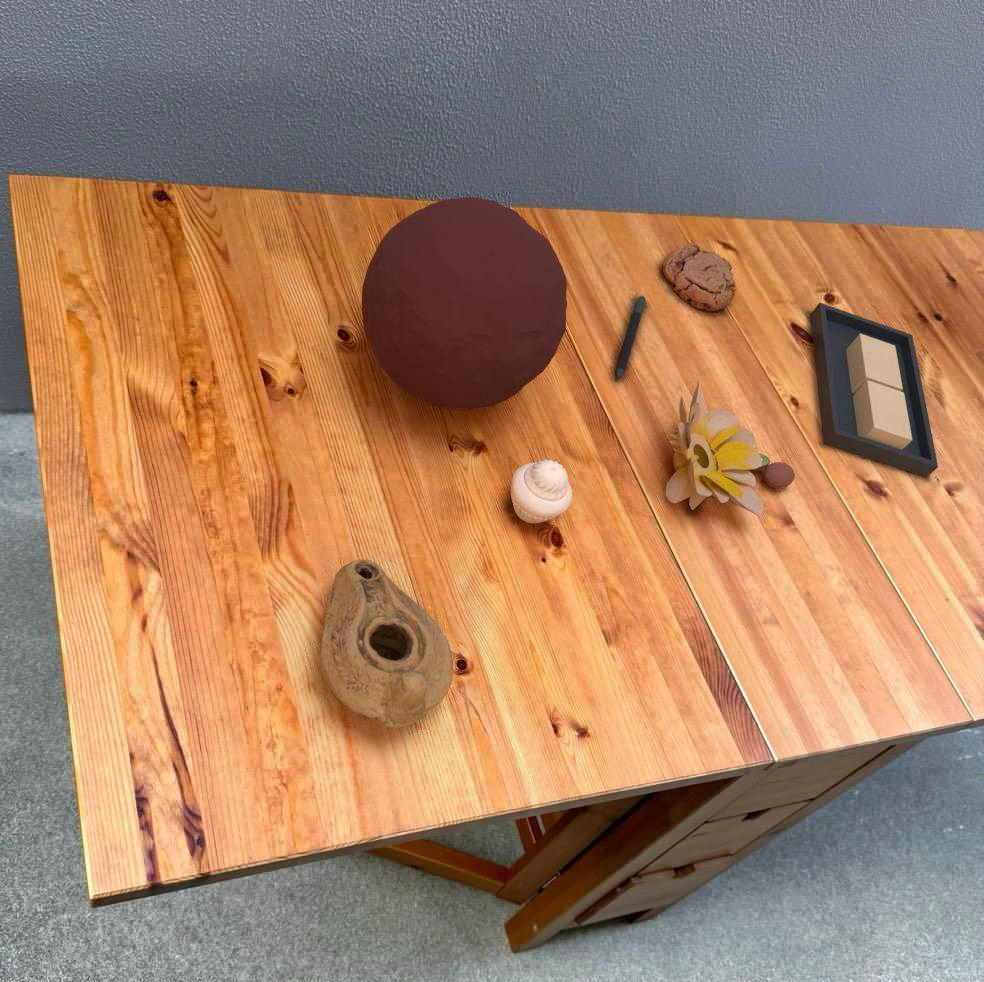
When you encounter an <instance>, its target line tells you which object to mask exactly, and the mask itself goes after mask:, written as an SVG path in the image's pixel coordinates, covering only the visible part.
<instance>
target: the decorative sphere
mask: <svg viewBox="0 0 984 982" xmlns="http://www.w3.org/2000/svg"><path fill="white" fill-rule="evenodd" d="M567 283H568V281H567V276H566V274H565V271H564V268H563V265H562V264H561V262H560V258H559V257H558V255H557V253H556V251H555V250H554V248H553V247H552V244H551V243H550V241H549V240H548V239H547V238H546V237H545V236H544V235H543V234H542V233H540V232H539V231H538V230H537V229H536V228H534V227H533V226H531V225H530V224H529V223H528V222H527V220H526V219H525V218H524V217H523V216H521V215H520V214H519V213H518V211H517V210H515V209H513V208H512V207H508V206H505V205H502V204H501V203H499V202H498V201H496V200H492V199H486V198H481V197H472V196H466V197H465V196H464V197H455V198H447V199H441V200H439V201H436V202H433V203H430V204H428V205H426V206H425V207H423V208H420V209H417V210H416V211H414V212H413V213H411V214H409V215H408V216H406V217H405V218H403V219H401V220H400V221H398V222H396V224H395V225H394V226H393V227H392V228H391V229H389V230H388V231H387V233H385V234H384V236H383V237H382V239H381V240H380V242H379V244H378V246H377V248H376V250H375V251H374V253H373V255H372V257H371V260H370V261H369V264H368V266H367V269H366V271H365V276H364V280H363V284H362V290H361V314H362V324H363V325H362V327H363V330H364V334H365V338H366V340H367V341H368V344H369V346H370V348H371V351H372V353H373V355H374V357H375V358H376V360H377V362H378V364H379V366H380V367H381V368H382V370H383V371H384V372H385V373H386V374H387V375H388V377H389V378H390V379H391V380H392V381H393V382H394V383H395V384H396V385H397V386H398V387H399V388H401V389H402V390H403V391H405V392H407V393H409V394H412V395H413V396H416V397H418V398H420V399H423V400H424V401H425V402H427V403H429V404H431V405H434V406H439V407H443V408H447V409H453V410H478V409H483V408H488V407H494V406H496V405H498V404H501V403H503V402H506V401H508V400H509V399H511V398H512V397H514V396H516V395H517V394H518V393H519V392H520V391H521V390H522V389H524V388H525V386H527V385H528V384H529V383H531V382H532V381H533V380H535V379H536V378H537V377H538V376H539V375H541V374H542V373H543V372H544V371H545V370H546V369H547V367H548V366H549V365H550V364H551V362H552V360H553V358H554V357H555V356H556V353H557V351H558V349H559V346H560V345H561V342H562V340H563V338H564V335H565V333H566V329H567V308H568V300H567V290H568V284H567Z"/></svg>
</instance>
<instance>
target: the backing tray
mask: <svg viewBox="0 0 984 982" xmlns="http://www.w3.org/2000/svg"><path fill="white" fill-rule="evenodd" d="M810 320H811V321H810V322H811V330H812V331H811V332H812V340H813V349H814V359H815V370H816V379H817V389H818V398H819V400H818V401H819V408H820V417H821V428H822V439H823V444H824V445H827V446H830V447H833V448H836V449H839V450H842V451H845V452H848V453H851V454H855V455H857V456H860V457H863V458H866V459H869V460H872V461H875V462H878V463H882V464H885V465H887V466H891V467H894V468H896V469H900V470H903V471H905V472H909V473H911V474H915V475H918V476H921V477H922V478H923V477H924V478H928V477H929V476H930V475H931V474H932V473H934V472H935V471H936V470H937V469H938V468H939V464H938V458H937V453H936V449H935V443H934V437H933V433H932V427H931V422H930V417H929V412H928V408H927V401H926V397H925V393H924V386H923V381H922V376H921V371H920V367H919V361H918V357H917V356H918V355H917V352H916V348H915V347H916V346H915V342H914V341H915V340H914V337H913V334H911V333H908V332H905V331H902V330H900V329H896V328H894V327H891V326H888V325H885V324H882V323H879V322H877V321H873V320H871V319H868V318H866V317H863V316H861V315H856V314H854V313H851V312H848V311H846V310H843V309H840V308H837V307H835V306H831V305H829V304H826V303H822V302H819V303H818V304H817V305H816V306H815V308H814V309H813V311H812V312H810ZM859 334H863V335H866V336H869V337H872V338H875V339H877V340H880V341H883V342H886V343H889V344H892V345H895V348H896V353H897V359H898V365H899V370H900V376H901V382H902V387H903V389H902V391H901V392H904V395H905V401H906V407H907V412H908V418H909V423H910V429H911V435H912V441H911V442H910V443H909V444H908V445H907V446H906V447H905V448H904V449H903V450H899V449H896V448H893V447H890V446H887V445H884V444H881V443H878V442H875V441H872V440H869V439H866V438H863V437H860V436H858V432H857V425H856V417H855V410H854V402H853V396H854V394H853V393H852V392H851V384H850V377H849V369H848V361H847V353H846V349H847V348H848V347H849V346H850V345H851V343H852V342H853V341H854V340H855V339H856V338H857V336H858V335H859Z"/></svg>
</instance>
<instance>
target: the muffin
mask: <svg viewBox="0 0 984 982" xmlns="http://www.w3.org/2000/svg"><path fill="white" fill-rule="evenodd" d="M510 484H511V485H510V498H511V502H512V506H513V510H514V512H515V515H517V517H518V518H519V519H520V520H521V521H523V522H524V523H528V524H530V525H531V524H535V525H536V524H540V523H544V522H547V521H551V520H552V519H556V517H558V516H561V515H562V514H564V513H565V512H566V511H568V509H569V508H570V506H571V504H572V500H573V489H572V487H571V486H572V485H571V483H570V482H569V475H568V472H567V469H565V468H564V465H563V464H561V463H559V461H556V460H555V461H553V459H549V460H548V459H545V458H544V459H542V460H538V461H537V462H535V461H534V462H533V461H532V462H528V463H525V464H523V465H521V466H520V467H518V468H517V469H516V470H515V471H514V473H513V475H512V477H511V483H510Z"/></svg>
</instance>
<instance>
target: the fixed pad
mask: <svg viewBox="0 0 984 982" xmlns="http://www.w3.org/2000/svg"><path fill="white" fill-rule="evenodd" d="M853 402H854V410H855V417H856V425H857V432H858V436H860V437H863V438H866V439H869V440H872V441H875V442H878V443H881V444H884V445H887V446H890V447H893V448H896V449H899V450H903V449H904V448H905V447H906V446H907V445H908V444H909V443H910V442H911V441H912V435H911V429H910V423H909V418H908V412H907V407H906V401H905V395H904V392H901V391H898V390H895V389H892V388H889V387H886V386H883V385H880V384H877V383H874V382H872V381H869V380H867V381H866V382H865V383H864V384H863V386H862V387H861V388H860V389H859V390H858V391H857V392H856V393H855V394H854V396H853Z"/></svg>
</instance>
